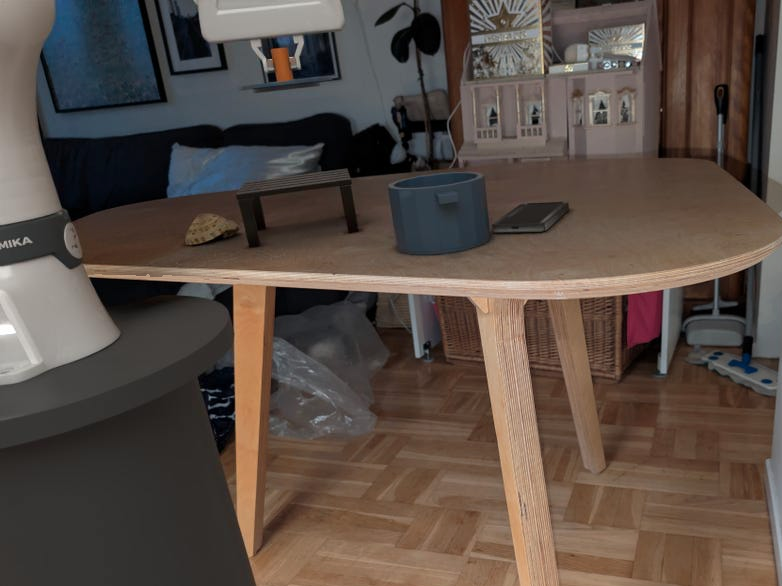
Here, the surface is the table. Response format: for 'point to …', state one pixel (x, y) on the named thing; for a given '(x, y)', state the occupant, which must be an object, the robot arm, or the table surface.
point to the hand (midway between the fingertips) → (283, 71)
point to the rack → (256, 189)
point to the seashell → (209, 228)
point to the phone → (530, 217)
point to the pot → (440, 212)
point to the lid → (284, 76)
